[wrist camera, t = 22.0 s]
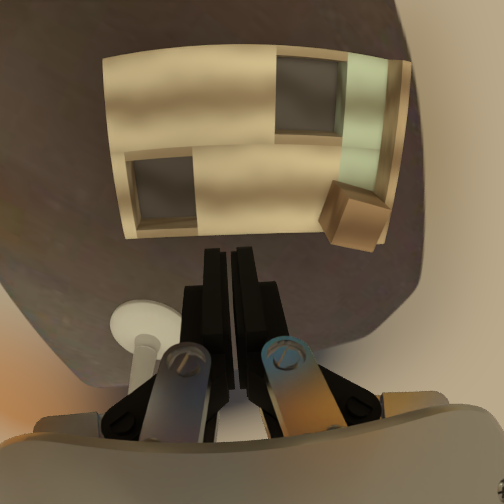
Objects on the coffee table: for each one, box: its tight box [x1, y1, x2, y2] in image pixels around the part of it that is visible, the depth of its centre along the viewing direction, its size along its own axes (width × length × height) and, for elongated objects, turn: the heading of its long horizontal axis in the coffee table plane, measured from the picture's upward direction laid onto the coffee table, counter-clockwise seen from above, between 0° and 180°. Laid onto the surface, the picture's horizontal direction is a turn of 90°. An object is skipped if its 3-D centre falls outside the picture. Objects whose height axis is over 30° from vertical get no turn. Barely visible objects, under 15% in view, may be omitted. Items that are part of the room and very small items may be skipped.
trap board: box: [103, 44, 411, 244], centre depth 29 cm, size 20×29×6 cm
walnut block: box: [318, 180, 392, 252], centre depth 32 cm, size 5×5×5 cm
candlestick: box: [110, 300, 182, 395], centre depth 33 cm, size 13×13×30 cm
